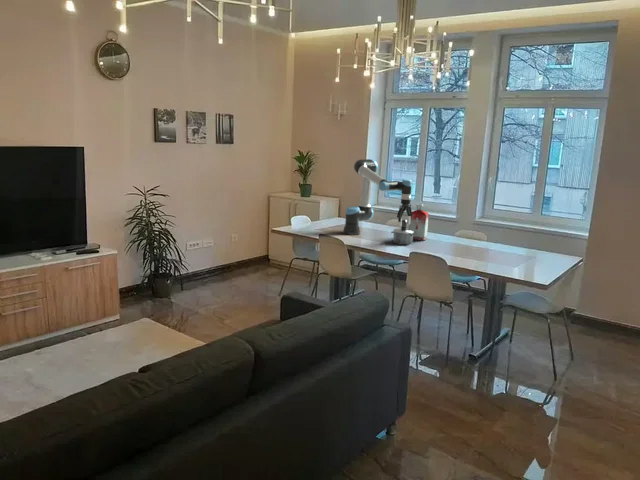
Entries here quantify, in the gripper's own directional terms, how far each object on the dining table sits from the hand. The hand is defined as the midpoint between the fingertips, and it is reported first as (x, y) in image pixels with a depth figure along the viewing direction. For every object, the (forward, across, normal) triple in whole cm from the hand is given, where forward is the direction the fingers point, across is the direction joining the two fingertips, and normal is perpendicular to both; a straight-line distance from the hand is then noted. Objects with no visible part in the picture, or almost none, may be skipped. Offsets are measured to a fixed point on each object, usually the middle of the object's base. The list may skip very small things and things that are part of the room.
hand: (404, 224), depth 418 cm
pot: (+15, 0, 0) cm, 15 cm away
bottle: (+15, +22, -1) cm, 27 cm away
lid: (+6, 0, 0) cm, 6 cm away
